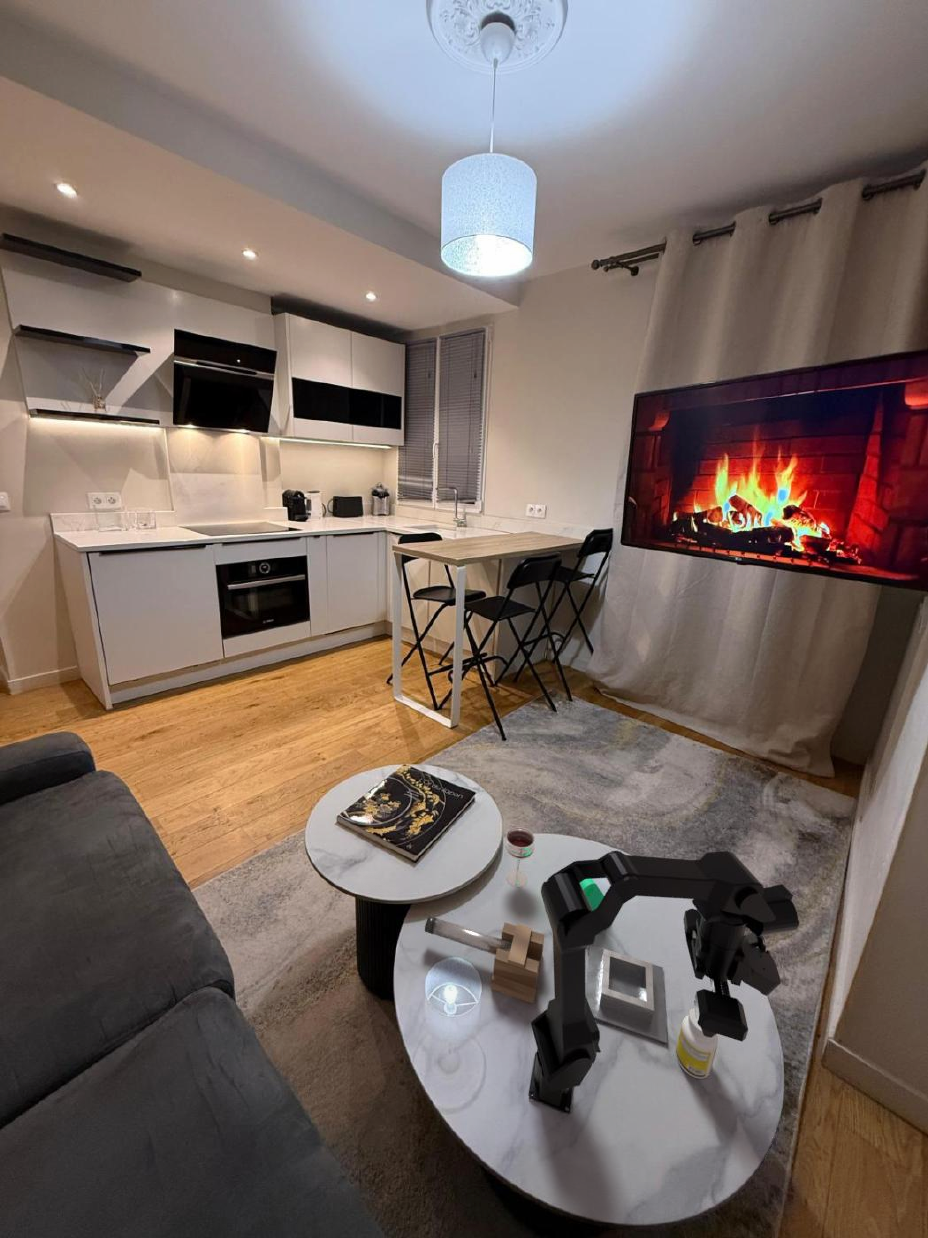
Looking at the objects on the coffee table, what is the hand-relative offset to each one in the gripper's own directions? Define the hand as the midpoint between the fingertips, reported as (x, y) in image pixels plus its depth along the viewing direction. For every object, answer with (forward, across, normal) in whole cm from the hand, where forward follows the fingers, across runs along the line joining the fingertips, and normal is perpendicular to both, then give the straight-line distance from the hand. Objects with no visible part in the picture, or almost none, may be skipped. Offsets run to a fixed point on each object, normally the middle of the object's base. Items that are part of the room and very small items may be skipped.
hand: (702, 1005), depth 79 cm
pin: (+9, +5, +41) cm, 42 cm away
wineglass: (+12, +27, +35) cm, 46 cm away
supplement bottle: (+12, 0, 0) cm, 13 cm away
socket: (+12, +8, +10) cm, 18 cm away
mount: (+12, +5, +31) cm, 33 cm away
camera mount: (+13, +24, +21) cm, 34 cm away
